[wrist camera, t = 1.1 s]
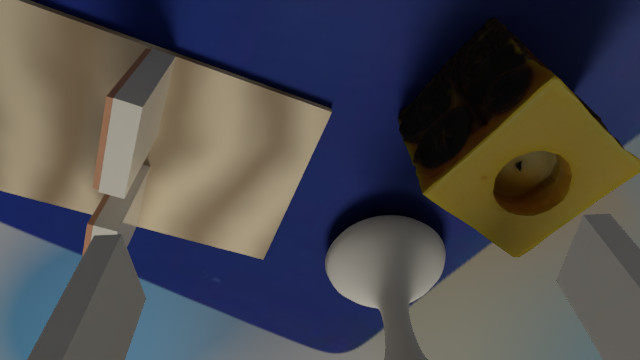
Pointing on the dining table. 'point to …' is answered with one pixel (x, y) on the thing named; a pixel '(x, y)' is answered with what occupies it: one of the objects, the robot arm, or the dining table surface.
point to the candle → (509, 143)
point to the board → (172, 140)
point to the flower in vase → (388, 273)
